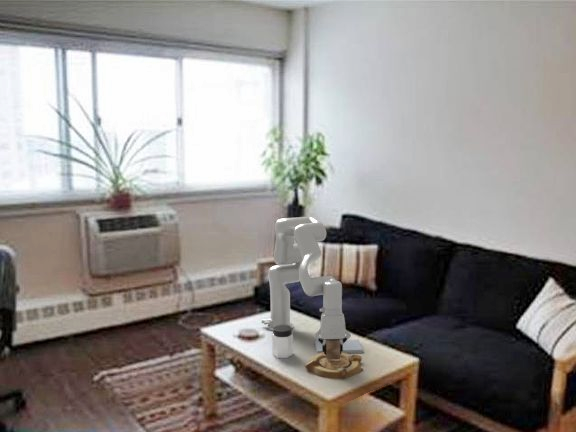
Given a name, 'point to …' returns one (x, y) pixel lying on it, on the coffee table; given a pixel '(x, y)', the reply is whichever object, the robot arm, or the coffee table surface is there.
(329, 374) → the ashtray
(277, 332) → the jar
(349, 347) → the pocket board
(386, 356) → the coffee table surface
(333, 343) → the block
